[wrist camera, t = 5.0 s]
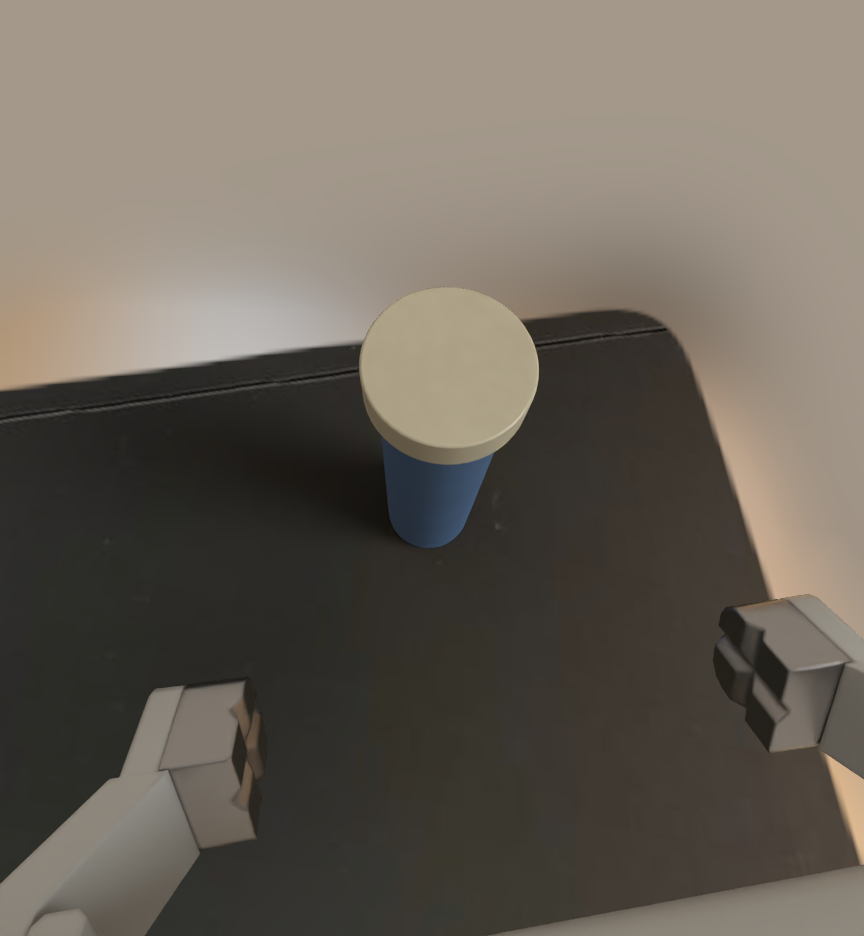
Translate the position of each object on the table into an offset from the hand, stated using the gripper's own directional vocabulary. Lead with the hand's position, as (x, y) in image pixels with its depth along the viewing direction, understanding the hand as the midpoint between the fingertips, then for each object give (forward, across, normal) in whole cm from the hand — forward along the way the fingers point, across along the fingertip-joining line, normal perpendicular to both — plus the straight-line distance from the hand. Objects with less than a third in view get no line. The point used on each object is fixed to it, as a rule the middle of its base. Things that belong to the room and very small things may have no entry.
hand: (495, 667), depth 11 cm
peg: (+11, 0, +3) cm, 11 cm away
